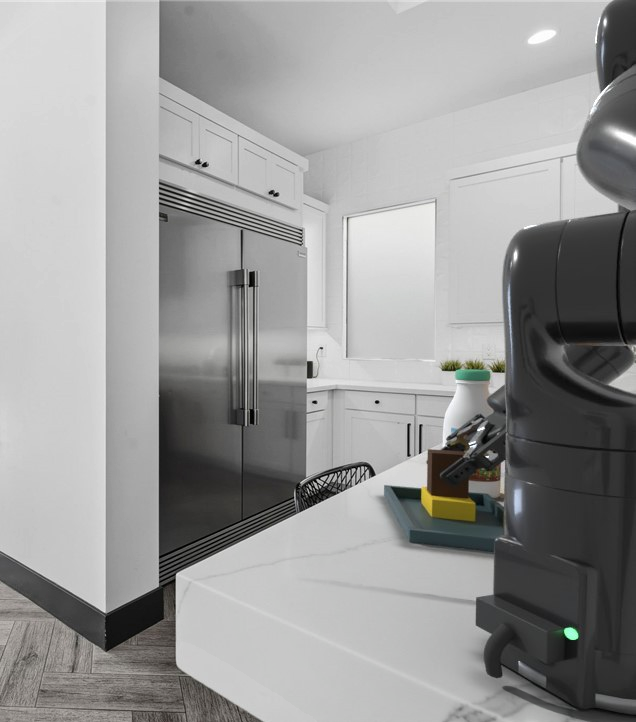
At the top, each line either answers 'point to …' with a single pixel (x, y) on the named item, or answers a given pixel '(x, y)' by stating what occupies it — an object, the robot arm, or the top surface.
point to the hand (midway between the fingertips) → (437, 474)
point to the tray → (446, 521)
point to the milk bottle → (462, 410)
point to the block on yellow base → (446, 489)
